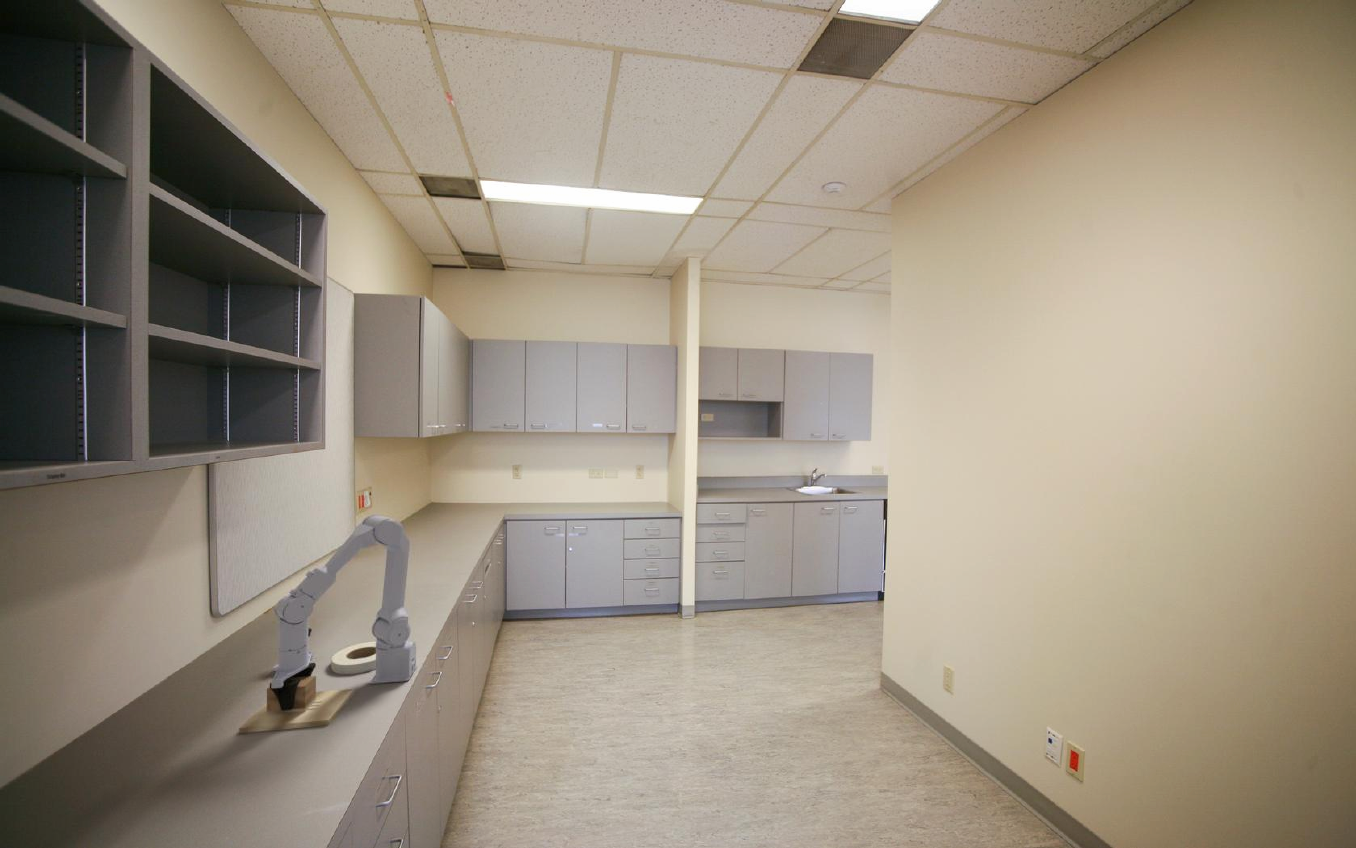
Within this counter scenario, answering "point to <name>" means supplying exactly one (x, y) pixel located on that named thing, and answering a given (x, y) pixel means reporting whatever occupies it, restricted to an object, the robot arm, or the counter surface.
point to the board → (301, 713)
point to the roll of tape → (348, 665)
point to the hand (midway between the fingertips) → (293, 703)
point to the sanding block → (302, 697)
